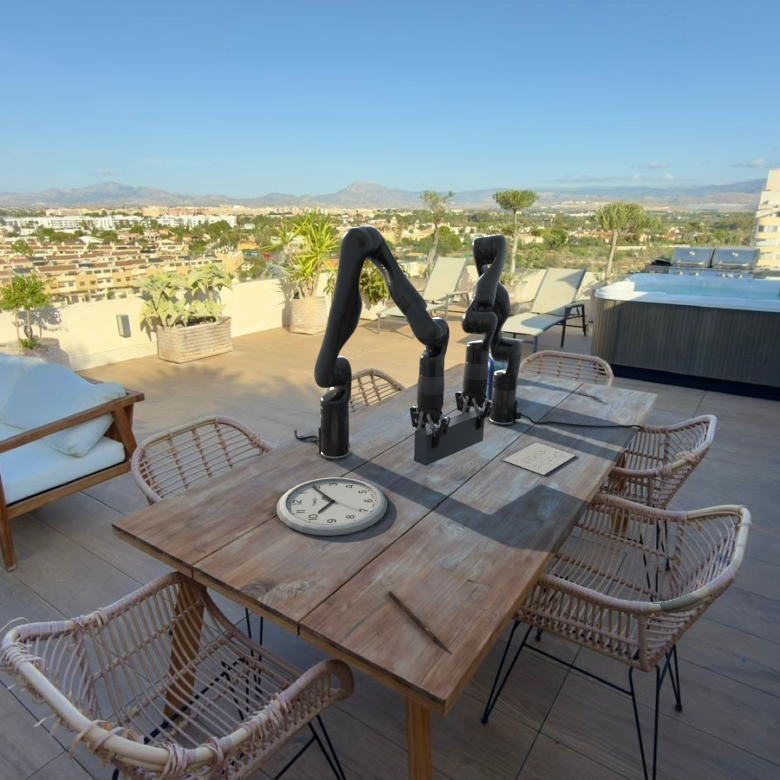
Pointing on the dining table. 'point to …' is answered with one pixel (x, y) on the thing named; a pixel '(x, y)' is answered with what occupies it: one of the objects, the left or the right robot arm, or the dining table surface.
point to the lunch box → (493, 367)
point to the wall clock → (331, 506)
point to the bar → (448, 438)
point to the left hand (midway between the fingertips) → (428, 444)
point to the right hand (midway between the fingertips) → (472, 426)
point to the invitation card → (539, 458)
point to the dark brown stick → (412, 616)
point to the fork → (589, 395)
